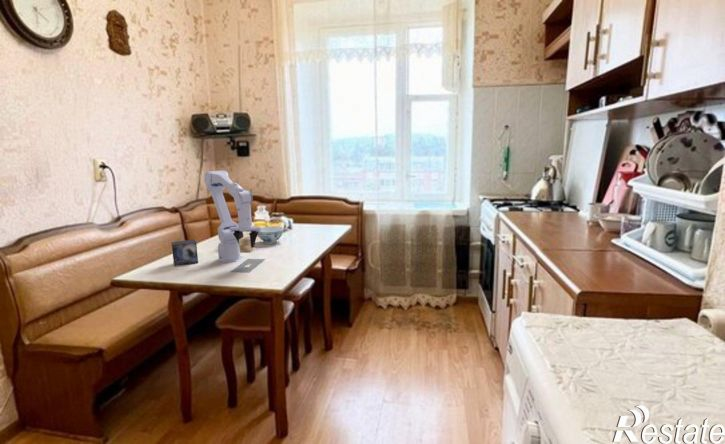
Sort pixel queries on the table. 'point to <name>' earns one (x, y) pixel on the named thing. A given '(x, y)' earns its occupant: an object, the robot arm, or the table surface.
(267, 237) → the chinaware
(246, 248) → the maple block
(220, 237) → the robot arm
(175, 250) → the small box
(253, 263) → the grey plate
